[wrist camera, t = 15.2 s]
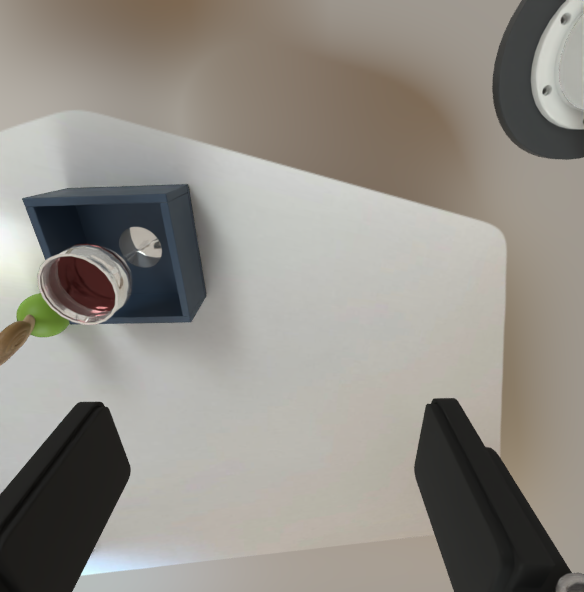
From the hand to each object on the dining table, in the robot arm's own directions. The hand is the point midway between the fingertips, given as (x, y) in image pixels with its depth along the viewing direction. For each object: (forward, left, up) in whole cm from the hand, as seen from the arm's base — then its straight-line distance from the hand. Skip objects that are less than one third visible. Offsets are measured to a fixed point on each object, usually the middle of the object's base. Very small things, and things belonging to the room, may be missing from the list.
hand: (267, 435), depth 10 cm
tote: (+3, -18, -30) cm, 35 cm away
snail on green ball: (+11, -31, -31) cm, 45 cm away
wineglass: (+3, -18, -30) cm, 35 cm away
